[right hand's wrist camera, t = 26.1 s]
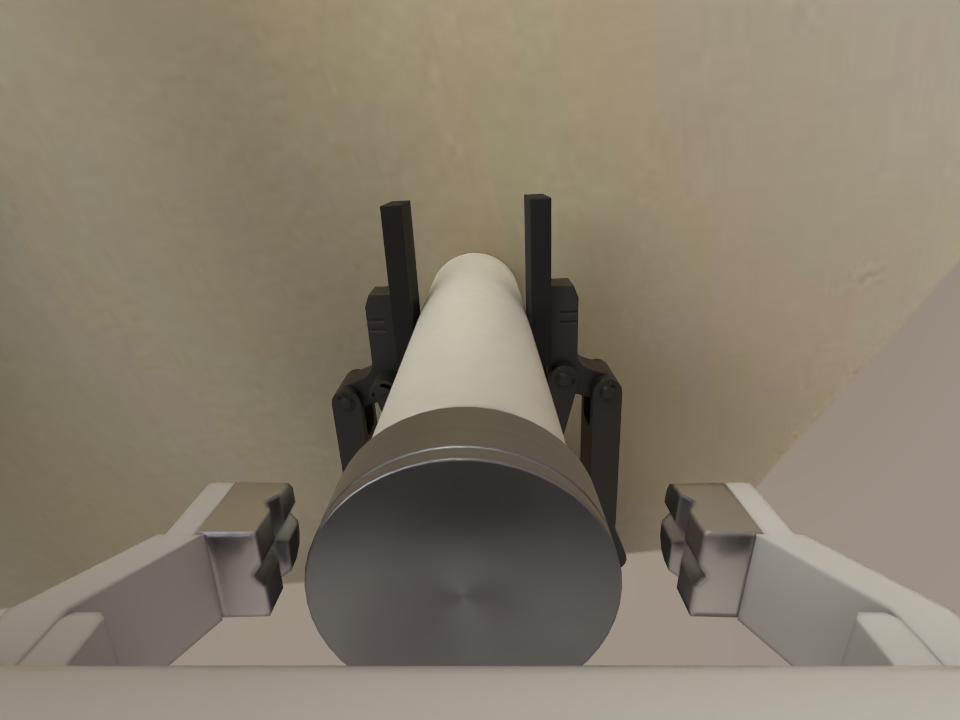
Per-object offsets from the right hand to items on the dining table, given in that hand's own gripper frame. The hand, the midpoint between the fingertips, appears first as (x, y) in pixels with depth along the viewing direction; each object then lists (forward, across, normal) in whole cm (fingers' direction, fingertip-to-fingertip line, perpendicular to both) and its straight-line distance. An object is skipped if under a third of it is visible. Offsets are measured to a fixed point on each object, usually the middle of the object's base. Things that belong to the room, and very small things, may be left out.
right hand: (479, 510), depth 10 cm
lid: (-2, 0, 0) cm, 2 cm away
